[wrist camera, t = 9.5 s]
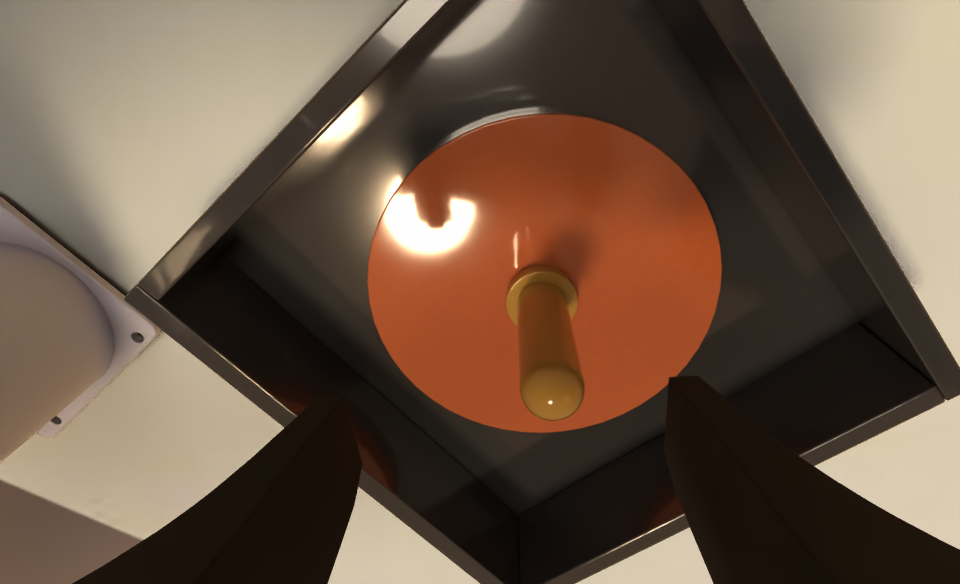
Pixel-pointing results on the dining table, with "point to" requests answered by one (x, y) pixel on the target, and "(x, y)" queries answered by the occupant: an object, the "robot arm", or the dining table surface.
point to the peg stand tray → (624, 439)
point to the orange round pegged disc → (544, 272)
